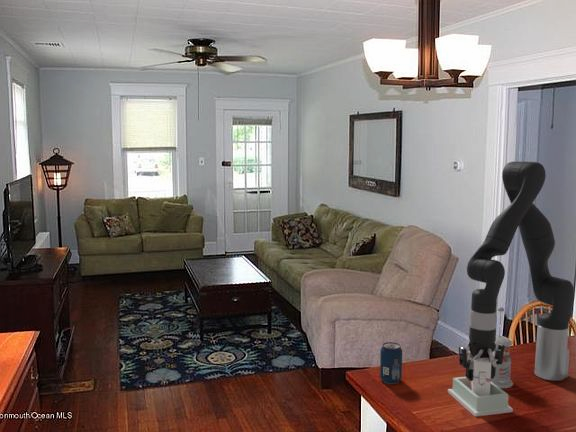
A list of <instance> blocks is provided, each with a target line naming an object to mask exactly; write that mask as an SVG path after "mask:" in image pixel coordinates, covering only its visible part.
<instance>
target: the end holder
mask: <svg viewBox="0 0 576 432" xmlns="http://www.w3.org/2000/svg"><path fill="white" fill-rule="evenodd" d="M470 385H471V381H469V380H468V379H467V378H466V376H459V377H458V376H457V377H453V378H452V388H448V389H447V393H448V394H449V395H450V396H452V397H453V399H455V400H456V401H457V402H458V403H459V404H461V406H462V407H464V408H465V409H466V411H468V412H469V413H470V414H472V415H473V416H474V417H482V416H490V415H491V416H492V415H500V414H505V413H506V414H508V413H513V412H514V408H512V407H511V406H510V405H509V394H508V393H507V392H506V391H504V390H503V388H499V387H498V386H496V385H495V384H494V383H492V382H491V384H490V395H484V396H478V395H476V394H475V393H474V392H473V391H472V390H471V387H470Z"/></svg>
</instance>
